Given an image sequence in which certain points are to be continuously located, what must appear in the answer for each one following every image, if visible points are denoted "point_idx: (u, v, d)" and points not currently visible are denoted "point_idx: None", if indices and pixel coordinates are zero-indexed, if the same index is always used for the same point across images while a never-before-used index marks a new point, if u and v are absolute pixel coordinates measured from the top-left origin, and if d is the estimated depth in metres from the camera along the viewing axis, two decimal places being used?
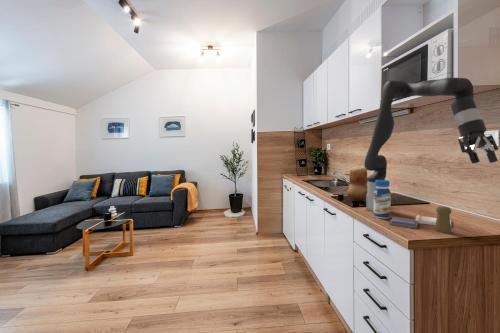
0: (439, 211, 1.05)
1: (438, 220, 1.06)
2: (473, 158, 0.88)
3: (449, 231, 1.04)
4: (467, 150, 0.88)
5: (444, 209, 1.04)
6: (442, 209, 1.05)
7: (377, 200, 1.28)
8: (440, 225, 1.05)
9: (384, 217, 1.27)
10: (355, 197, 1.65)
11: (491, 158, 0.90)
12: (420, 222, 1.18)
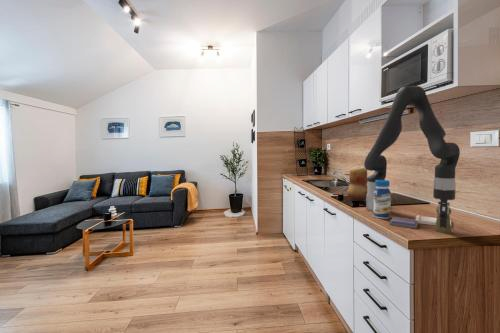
0: None
1: (438, 220, 1.06)
2: (444, 224, 1.04)
3: (449, 231, 1.04)
4: (445, 218, 1.02)
5: None
6: None
7: (377, 200, 1.28)
8: None
9: (384, 217, 1.27)
10: (355, 197, 1.65)
11: None
12: (420, 222, 1.18)
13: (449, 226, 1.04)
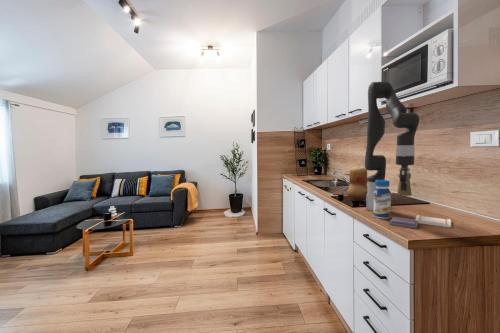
0: None
1: (400, 184, 1.16)
2: (404, 188, 1.14)
3: (409, 194, 1.14)
4: (404, 181, 1.12)
5: None
6: None
7: (377, 200, 1.28)
8: None
9: (384, 217, 1.27)
10: (355, 197, 1.65)
11: None
12: (420, 222, 1.18)
13: (409, 189, 1.14)
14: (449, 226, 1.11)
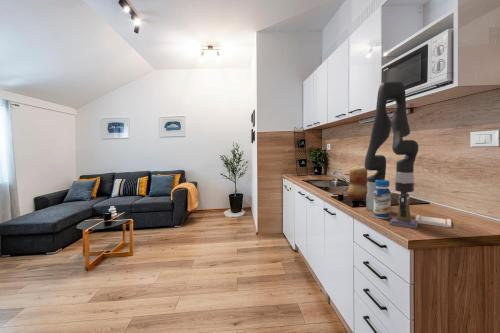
0: None
1: (399, 210, 1.17)
2: (403, 214, 1.15)
3: (408, 220, 1.15)
4: (404, 208, 1.13)
5: None
6: None
7: (377, 200, 1.28)
8: (400, 215, 1.16)
9: (384, 217, 1.27)
10: (355, 197, 1.65)
11: None
12: (420, 222, 1.18)
13: (408, 215, 1.15)
14: (449, 226, 1.11)
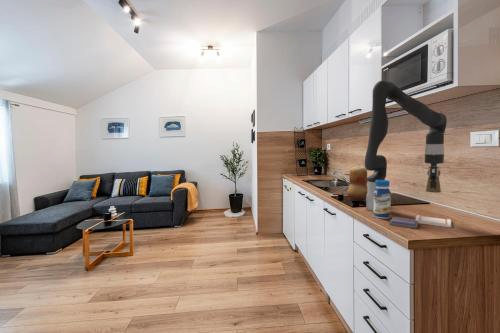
0: None
1: (429, 181, 1.19)
2: (434, 185, 1.16)
3: (438, 190, 1.16)
4: (434, 179, 1.15)
5: None
6: None
7: (377, 200, 1.28)
8: None
9: (384, 217, 1.27)
10: (355, 197, 1.65)
11: None
12: (420, 222, 1.18)
13: (438, 186, 1.17)
14: (449, 226, 1.11)
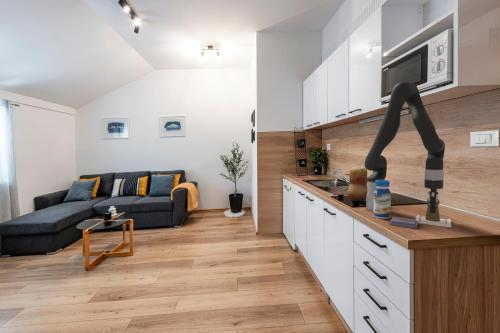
0: (429, 202, 1.19)
1: (428, 210, 1.20)
2: (433, 210, 1.16)
3: (438, 219, 1.17)
4: (434, 204, 1.14)
5: None
6: None
7: (377, 200, 1.28)
8: (429, 215, 1.19)
9: (384, 217, 1.27)
10: (355, 197, 1.65)
11: None
12: (420, 222, 1.18)
13: (438, 215, 1.18)
14: (449, 226, 1.11)
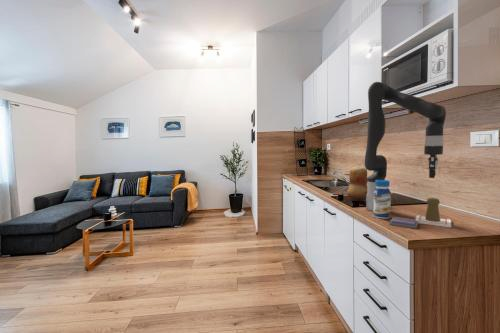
0: (429, 202, 1.19)
1: (428, 210, 1.20)
2: (432, 174, 1.18)
3: (438, 219, 1.17)
4: (433, 168, 1.16)
5: (433, 200, 1.18)
6: (431, 200, 1.18)
7: (377, 200, 1.28)
8: (429, 215, 1.19)
9: (384, 217, 1.27)
10: (355, 197, 1.65)
11: None
12: (420, 222, 1.18)
13: (438, 215, 1.18)
14: (449, 226, 1.11)
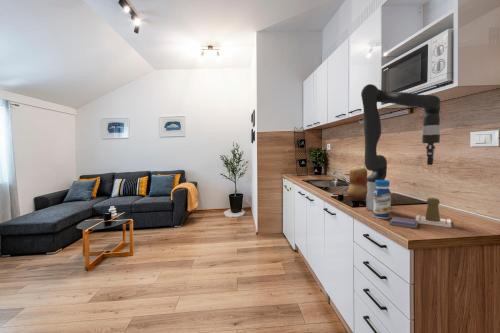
0: (429, 202, 1.19)
1: (428, 210, 1.20)
2: (430, 161, 1.25)
3: (438, 219, 1.17)
4: (431, 156, 1.24)
5: (433, 200, 1.18)
6: (431, 200, 1.18)
7: (377, 200, 1.28)
8: (429, 215, 1.19)
9: (384, 217, 1.27)
10: (355, 197, 1.65)
11: None
12: (420, 222, 1.18)
13: (438, 215, 1.18)
14: (449, 226, 1.11)
